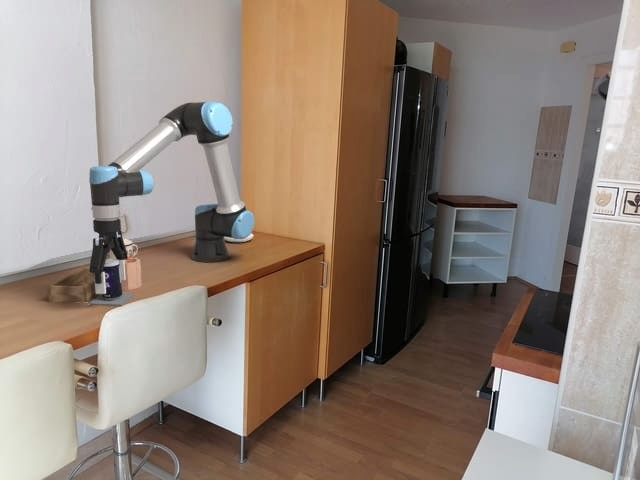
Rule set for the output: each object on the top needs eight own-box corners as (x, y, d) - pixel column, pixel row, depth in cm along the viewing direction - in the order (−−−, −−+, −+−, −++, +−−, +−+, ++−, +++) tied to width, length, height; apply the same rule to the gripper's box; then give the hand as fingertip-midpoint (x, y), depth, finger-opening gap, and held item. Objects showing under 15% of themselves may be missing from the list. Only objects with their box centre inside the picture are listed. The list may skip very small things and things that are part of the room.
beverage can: (106, 295, 147) (102, 258, 144) (124, 294, 148) (121, 258, 145) (100, 301, 141) (96, 263, 139) (119, 300, 142) (116, 262, 140)
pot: (144, 283, 162) (142, 258, 160) (135, 290, 154) (133, 264, 152) (121, 282, 162) (119, 257, 160) (111, 289, 154) (109, 263, 152)
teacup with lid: (119, 268, 178) (117, 239, 176) (104, 265, 183) (102, 236, 181) (145, 262, 188) (143, 234, 186) (130, 259, 193) (129, 231, 191)
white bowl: (255, 238, 240) (255, 224, 239) (251, 245, 225) (251, 230, 223) (224, 237, 240) (224, 224, 238) (219, 244, 224) (218, 230, 223)
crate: (117, 282, 161) (116, 269, 160) (87, 303, 141) (85, 287, 140) (84, 281, 162) (82, 268, 161) (49, 302, 141) (47, 286, 140)
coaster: (134, 295, 149) (134, 293, 149) (121, 306, 140) (121, 304, 139) (104, 294, 149) (103, 292, 149) (88, 305, 140) (88, 303, 140)
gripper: (113, 211, 151) (117, 274, 156) (71, 225, 127) (78, 299, 131) (135, 212, 151) (139, 275, 156) (99, 226, 127) (104, 300, 131)
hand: (111, 286), depth 144 cm, fingers open, 13 cm apart
